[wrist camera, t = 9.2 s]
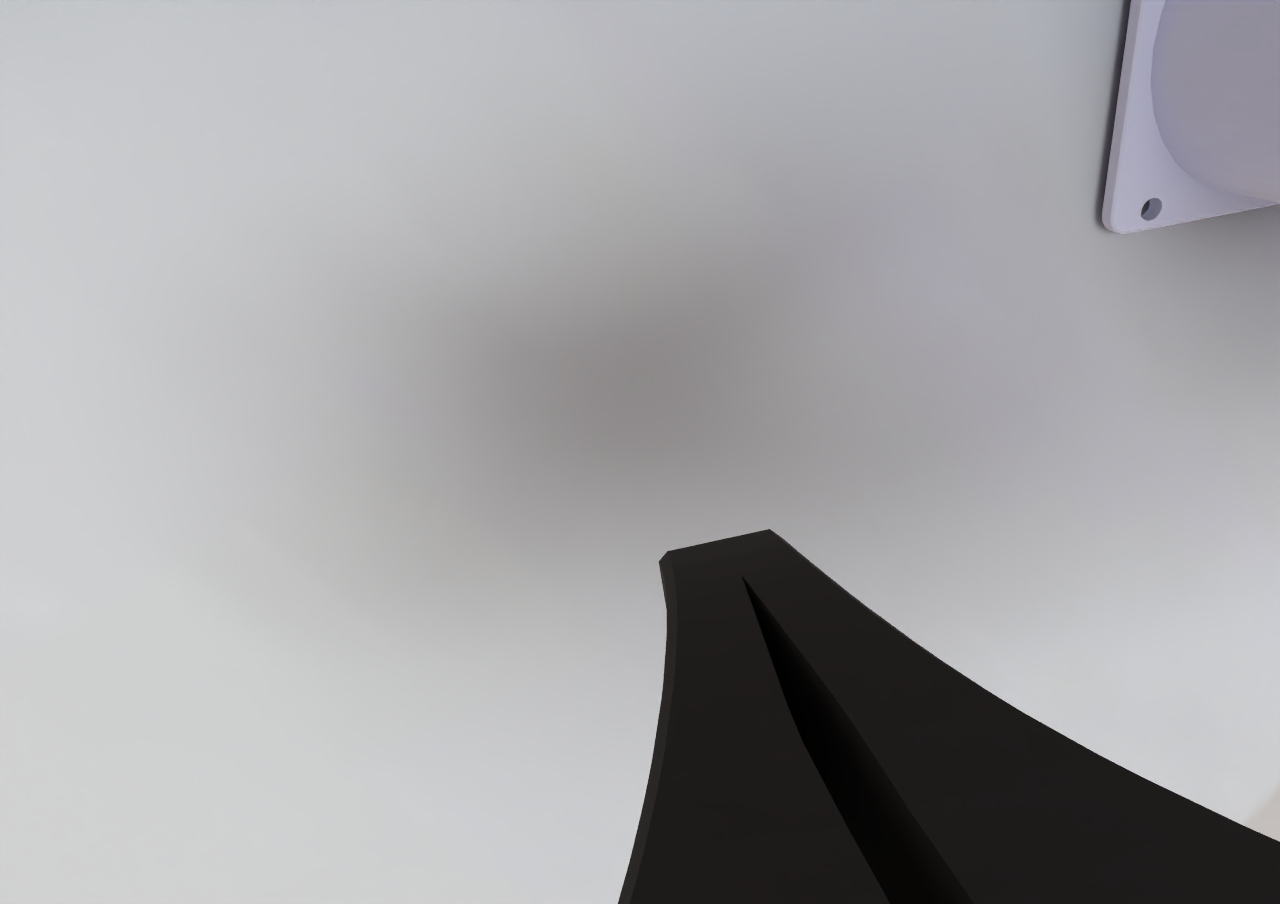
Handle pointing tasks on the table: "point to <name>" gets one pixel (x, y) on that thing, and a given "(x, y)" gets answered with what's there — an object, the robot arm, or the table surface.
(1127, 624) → the table surface
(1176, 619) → the table surface
